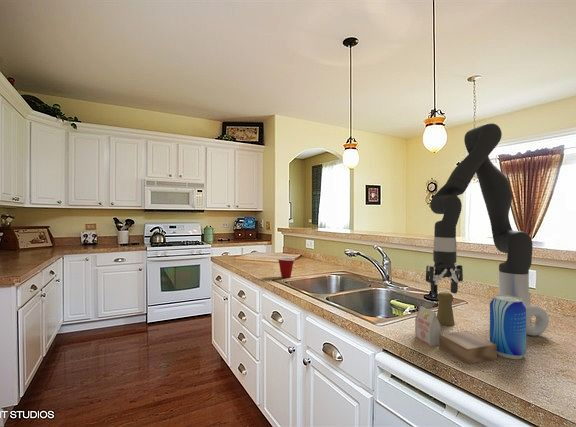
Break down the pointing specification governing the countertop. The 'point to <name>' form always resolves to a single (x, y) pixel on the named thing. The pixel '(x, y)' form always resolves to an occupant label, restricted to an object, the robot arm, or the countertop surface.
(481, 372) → the countertop surface
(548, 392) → the countertop surface
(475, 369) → the countertop surface
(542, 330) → the donut
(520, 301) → the beer can
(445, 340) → the walnut base
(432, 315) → the white tall box
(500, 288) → the robot arm
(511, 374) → the countertop surface
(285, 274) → the plastic cup
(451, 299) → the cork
